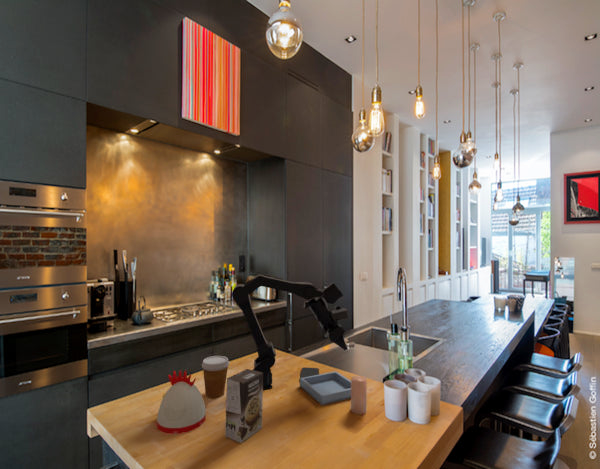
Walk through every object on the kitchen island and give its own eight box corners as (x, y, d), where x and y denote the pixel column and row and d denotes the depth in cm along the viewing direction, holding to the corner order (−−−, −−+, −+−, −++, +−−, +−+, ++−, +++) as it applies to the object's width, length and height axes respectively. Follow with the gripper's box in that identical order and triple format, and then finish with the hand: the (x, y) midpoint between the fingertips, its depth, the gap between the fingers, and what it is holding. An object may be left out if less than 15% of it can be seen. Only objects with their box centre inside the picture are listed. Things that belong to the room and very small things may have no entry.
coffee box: (242, 444, 90) (243, 383, 91) (224, 436, 94) (225, 377, 94) (263, 428, 98) (264, 372, 98) (246, 421, 101) (247, 367, 102)
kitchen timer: (168, 408, 109) (169, 361, 109) (211, 409, 108) (212, 362, 108) (147, 433, 95) (149, 379, 95) (196, 435, 94) (197, 380, 94)
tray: (321, 405, 112) (322, 396, 112) (299, 386, 126) (300, 378, 126) (360, 395, 119) (360, 387, 120) (335, 378, 134) (335, 371, 134)
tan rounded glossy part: (356, 415, 106) (357, 383, 106) (347, 408, 110) (348, 377, 110) (369, 412, 108) (370, 380, 108) (360, 405, 113) (360, 375, 113)
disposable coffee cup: (195, 397, 116) (195, 362, 116) (212, 386, 125) (212, 353, 125) (218, 402, 113) (218, 366, 113) (234, 391, 122) (234, 357, 122)
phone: (298, 382, 129) (301, 367, 144) (298, 384, 129) (301, 369, 144) (318, 383, 129) (319, 368, 143) (318, 385, 129) (319, 370, 143)
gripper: (344, 304, 120) (367, 340, 121) (333, 295, 139) (353, 327, 140) (318, 322, 119) (342, 358, 120) (311, 311, 138) (331, 342, 139)
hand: (343, 345), depth 130 cm, fingers open, 9 cm apart
